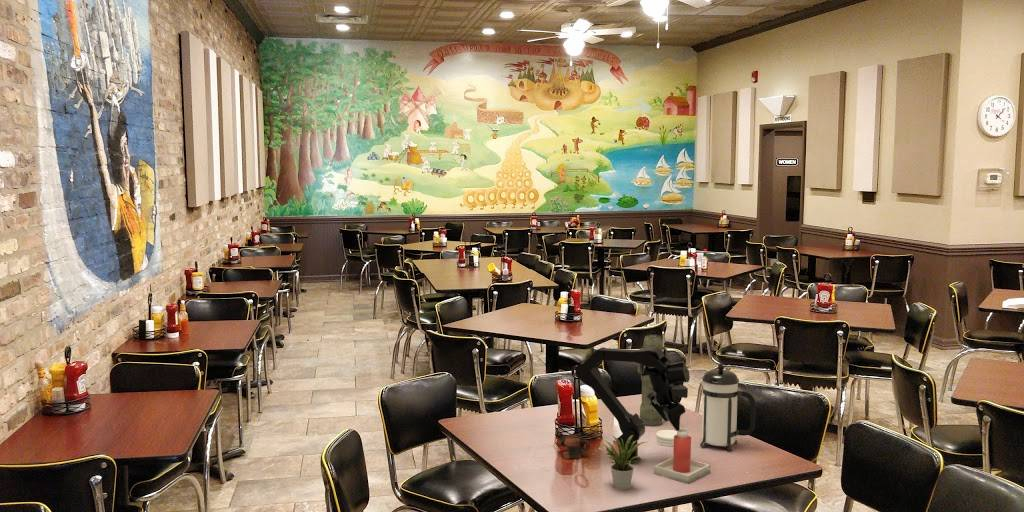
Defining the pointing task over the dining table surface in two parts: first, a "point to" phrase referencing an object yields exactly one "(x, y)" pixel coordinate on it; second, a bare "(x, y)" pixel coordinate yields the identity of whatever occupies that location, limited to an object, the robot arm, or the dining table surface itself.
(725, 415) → the coffee press
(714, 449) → the dining table surface
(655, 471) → the tray
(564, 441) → the pottery mug
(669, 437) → the cream round disc
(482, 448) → the dining table surface
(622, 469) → the house plant
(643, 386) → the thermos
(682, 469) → the squeeze bottle
